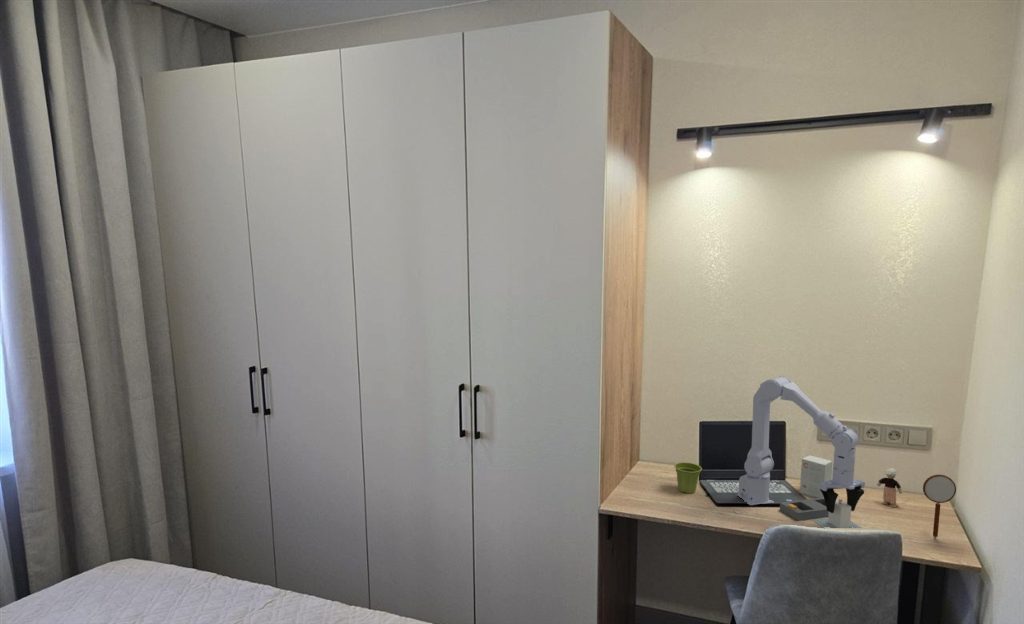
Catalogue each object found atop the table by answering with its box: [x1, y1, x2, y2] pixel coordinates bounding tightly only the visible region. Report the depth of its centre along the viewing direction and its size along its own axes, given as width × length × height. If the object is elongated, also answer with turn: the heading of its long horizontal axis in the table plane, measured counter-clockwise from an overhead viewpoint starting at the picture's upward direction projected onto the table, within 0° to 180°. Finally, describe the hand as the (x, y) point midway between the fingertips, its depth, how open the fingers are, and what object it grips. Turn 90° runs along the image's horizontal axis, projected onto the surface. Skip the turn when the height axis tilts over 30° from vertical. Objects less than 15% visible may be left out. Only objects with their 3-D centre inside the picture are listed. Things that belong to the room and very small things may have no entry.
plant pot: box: [674, 462, 703, 494], centre depth 211 cm, size 9×9×9 cm
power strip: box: [779, 498, 829, 522], centre depth 193 cm, size 20×8×4 cm, turn 106°
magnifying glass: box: [922, 474, 957, 540], centre depth 176 cm, size 9×2×20 cm, turn 77°
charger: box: [827, 498, 852, 528], centre depth 184 cm, size 4×5×8 cm
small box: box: [799, 454, 833, 499], centre depth 208 cm, size 8×6×13 cm
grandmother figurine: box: [876, 467, 903, 508], centre depth 201 cm, size 8×4×13 cm, turn 47°
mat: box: [811, 518, 863, 528], centre depth 184 cm, size 12×10×1 cm
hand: (840, 510), depth 183 cm, fingers open, 7 cm apart
